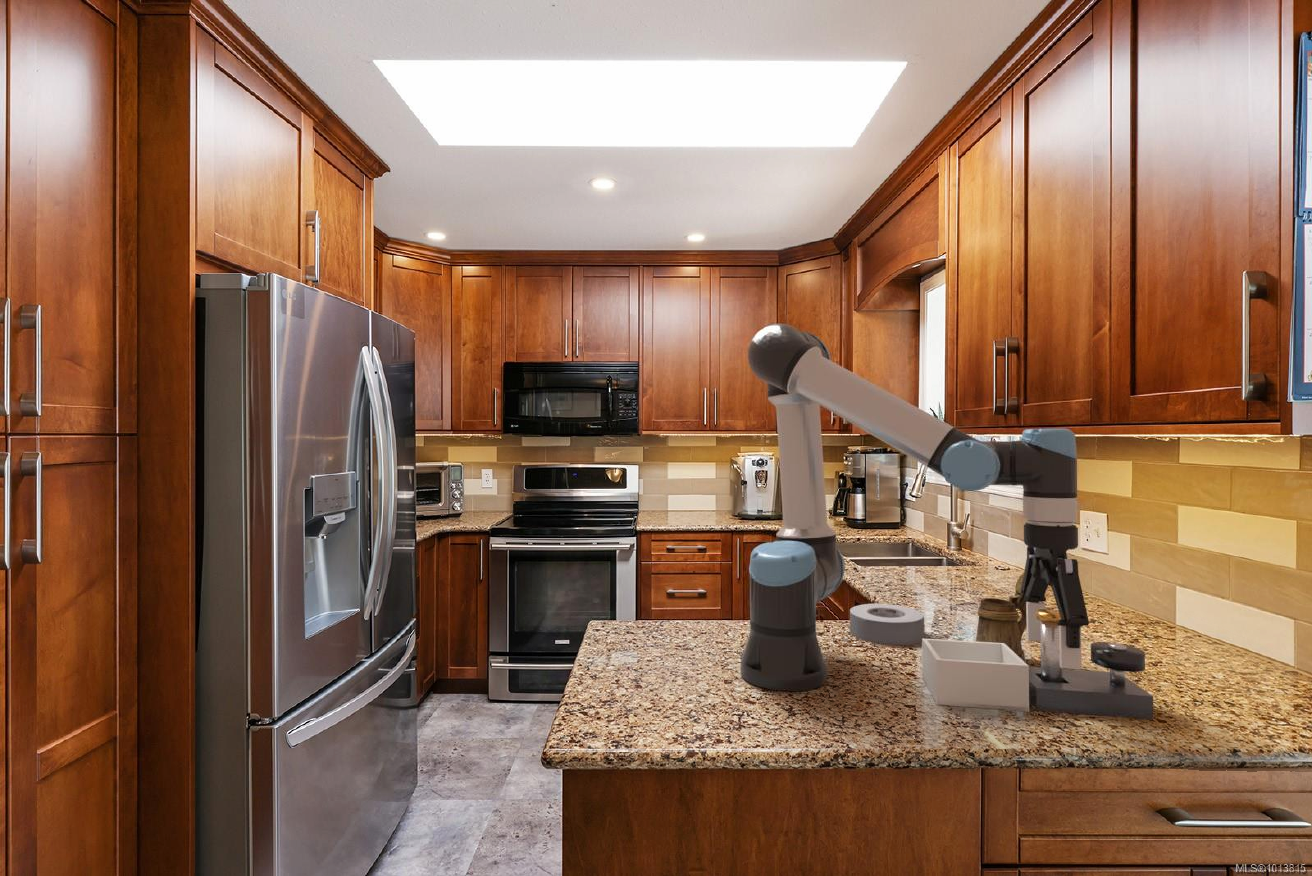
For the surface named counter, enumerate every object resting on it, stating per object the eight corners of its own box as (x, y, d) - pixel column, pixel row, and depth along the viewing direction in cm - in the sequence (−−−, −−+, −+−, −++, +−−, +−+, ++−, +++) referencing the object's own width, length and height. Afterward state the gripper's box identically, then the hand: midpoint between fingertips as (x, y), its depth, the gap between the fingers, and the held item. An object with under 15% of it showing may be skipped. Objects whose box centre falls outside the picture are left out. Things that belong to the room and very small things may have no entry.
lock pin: (1043, 703, 101) (1042, 615, 101) (1033, 694, 105) (1032, 608, 105) (1070, 706, 100) (1070, 616, 100) (1060, 696, 104) (1059, 610, 104)
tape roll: (875, 648, 129) (875, 624, 129) (836, 627, 143) (836, 605, 144) (940, 643, 132) (939, 618, 132) (896, 623, 147) (895, 601, 147)
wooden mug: (1059, 666, 118) (1058, 570, 118) (989, 667, 117) (988, 571, 117) (1028, 650, 127) (1027, 561, 127) (963, 652, 126) (962, 562, 126)
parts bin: (937, 704, 100) (936, 660, 101) (922, 678, 112) (922, 638, 112) (1029, 711, 98) (1028, 665, 98) (1004, 684, 109) (1004, 643, 109)
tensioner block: (1036, 710, 98) (1036, 649, 98) (1014, 686, 108) (1013, 631, 108) (1161, 720, 95) (1160, 657, 95) (1126, 694, 104) (1125, 637, 104)
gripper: (1114, 533, 89) (1117, 683, 89) (1045, 514, 114) (1047, 632, 114) (1056, 532, 91) (1058, 679, 91) (1000, 514, 115) (1001, 630, 115)
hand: (1052, 653), depth 102 cm, fingers open, 13 cm apart
